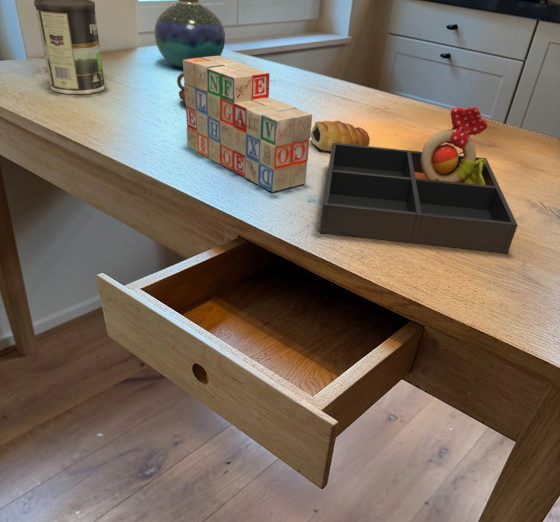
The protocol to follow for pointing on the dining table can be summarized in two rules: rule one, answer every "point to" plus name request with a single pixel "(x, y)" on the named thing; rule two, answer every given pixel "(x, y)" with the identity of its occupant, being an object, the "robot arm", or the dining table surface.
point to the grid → (412, 202)
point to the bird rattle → (446, 157)
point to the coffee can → (71, 45)
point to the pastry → (337, 134)
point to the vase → (188, 32)
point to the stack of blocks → (244, 123)
